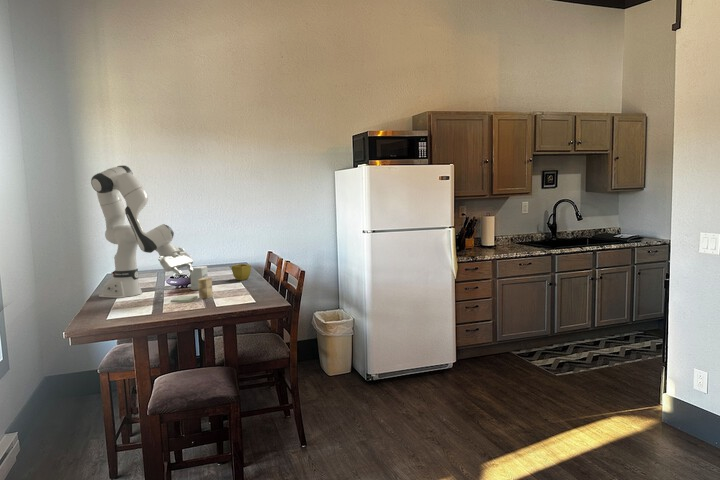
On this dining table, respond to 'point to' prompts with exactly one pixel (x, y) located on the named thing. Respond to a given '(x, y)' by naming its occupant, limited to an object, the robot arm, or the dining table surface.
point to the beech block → (205, 288)
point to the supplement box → (198, 276)
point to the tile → (184, 298)
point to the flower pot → (241, 271)
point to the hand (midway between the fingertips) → (186, 272)
